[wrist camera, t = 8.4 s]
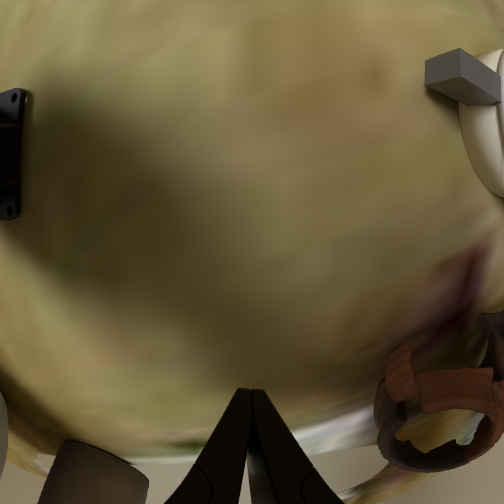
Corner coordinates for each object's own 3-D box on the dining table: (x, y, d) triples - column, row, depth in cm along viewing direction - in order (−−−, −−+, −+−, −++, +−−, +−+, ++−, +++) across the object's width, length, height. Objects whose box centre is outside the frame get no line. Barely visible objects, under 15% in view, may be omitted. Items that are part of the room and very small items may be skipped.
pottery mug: (442, 405, 17) (430, 490, 10) (361, 351, 19) (324, 440, 13) (550, 302, 10) (590, 386, 4) (467, 219, 13) (510, 285, 6)
